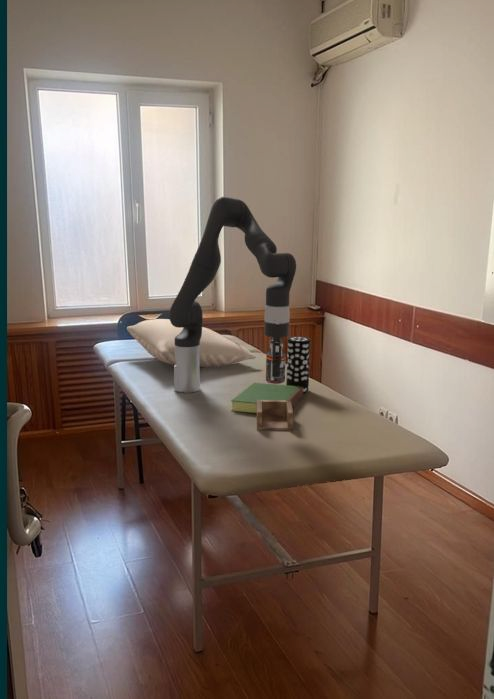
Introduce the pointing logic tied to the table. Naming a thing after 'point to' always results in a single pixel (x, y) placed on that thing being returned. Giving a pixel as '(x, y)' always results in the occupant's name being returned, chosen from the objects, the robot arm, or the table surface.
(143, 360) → the table surface
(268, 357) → the supplement bottle
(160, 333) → the pillow
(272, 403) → the open-sided wooden box
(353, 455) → the table surface
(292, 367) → the white-spotted black cylinder
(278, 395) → the hardcover book
